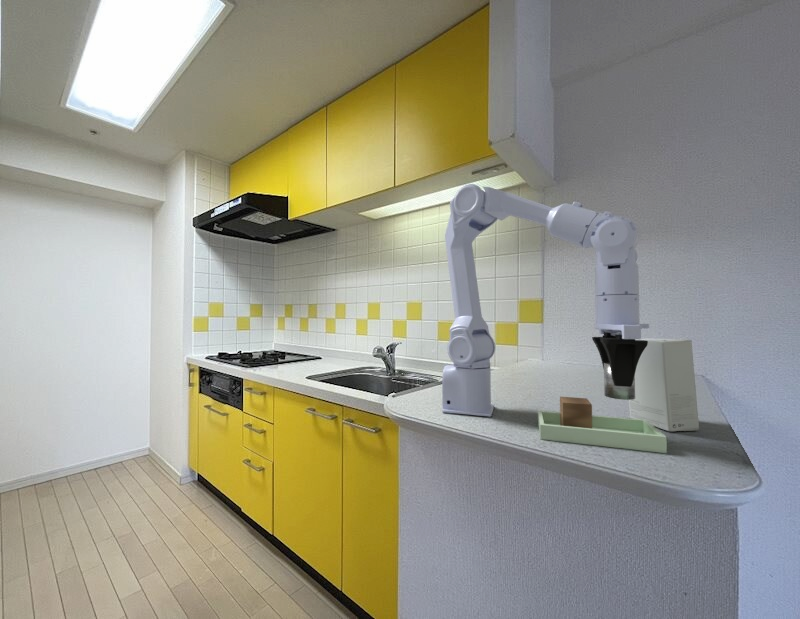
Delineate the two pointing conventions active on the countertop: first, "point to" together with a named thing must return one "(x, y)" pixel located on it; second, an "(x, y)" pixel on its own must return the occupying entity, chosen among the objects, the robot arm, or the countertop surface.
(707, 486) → the countertop surface
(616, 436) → the parts tray
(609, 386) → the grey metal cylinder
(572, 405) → the walnut block
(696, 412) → the skincare box
